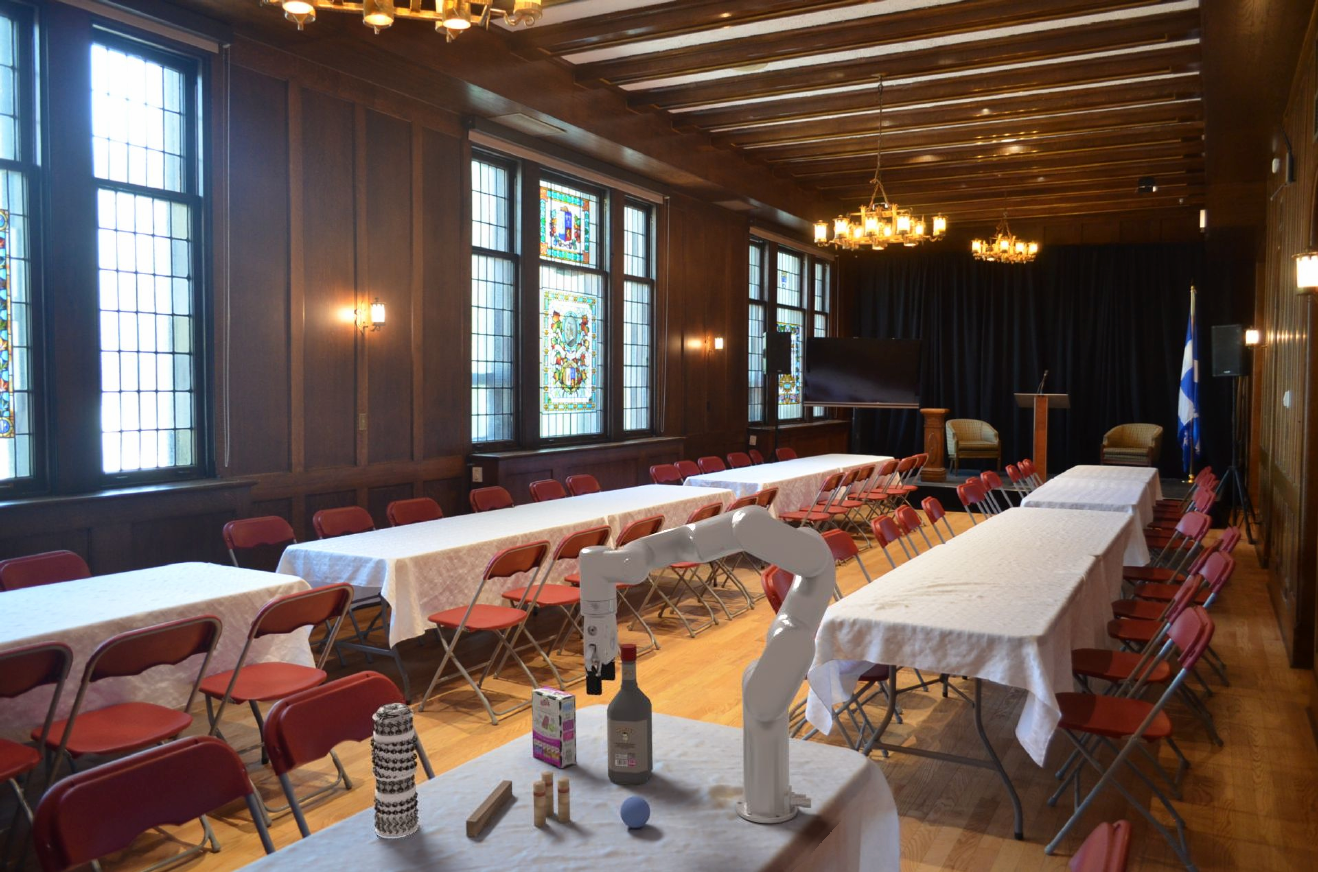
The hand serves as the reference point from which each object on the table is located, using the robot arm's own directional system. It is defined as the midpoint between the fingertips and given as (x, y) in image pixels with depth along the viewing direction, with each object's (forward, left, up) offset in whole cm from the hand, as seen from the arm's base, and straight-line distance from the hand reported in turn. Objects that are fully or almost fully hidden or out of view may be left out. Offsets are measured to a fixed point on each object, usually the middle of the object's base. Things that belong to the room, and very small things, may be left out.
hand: (601, 686), depth 204 cm
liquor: (-2, -16, -26) cm, 31 cm away
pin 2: (+11, +5, -26) cm, 28 cm away
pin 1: (+11, +10, -26) cm, 29 cm away
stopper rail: (+22, +8, -26) cm, 35 cm away
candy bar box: (+18, -22, -26) cm, 39 cm away
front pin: (+6, +8, -26) cm, 27 cm away
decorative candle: (+38, +18, -26) cm, 49 cm away
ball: (-9, +8, -23) cm, 25 cm away
